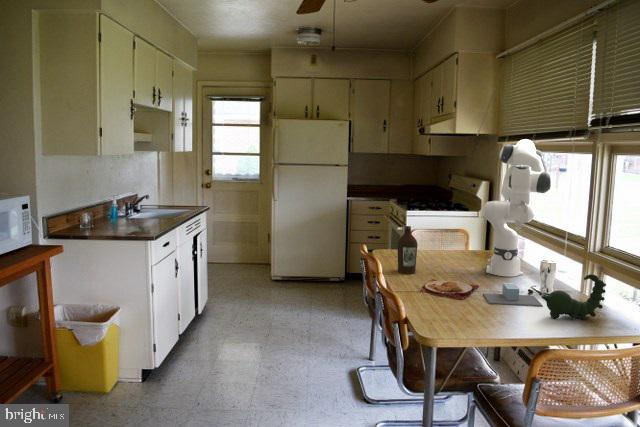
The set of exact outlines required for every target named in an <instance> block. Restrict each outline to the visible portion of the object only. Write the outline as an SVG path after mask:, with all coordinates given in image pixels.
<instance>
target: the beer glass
mask: <svg viewBox="0 0 640 427" xmlns="http://www.w3.org/2000/svg"><path fill="white" fill-rule="evenodd" d="M556 274H557V261H556V260H554V259H541V260H540V265H539V279H540V287H539V291H540V292H539V293H541V292H543V293H542V294H544V293H546V294H545V295H549V294H550V293H551V292H553V291H554V282H555V279H556Z"/></svg>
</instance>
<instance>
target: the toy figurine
mask: <svg viewBox="0 0 640 427" xmlns="http://www.w3.org/2000/svg"><path fill="white" fill-rule="evenodd" d="M589 279H590V280H591V281H592V282H594V283H593V284H594V286H592V289H591V291H592V292H590V294H589V297H588V298H587V299H586V301H578V300H577V299H575V298H573V297H572V296H571V295H570V294H569V293H567V292H566V291H564V290H558V289H557V290H553V292H551V293H550V294H547V295H542V296H540V298H541V299H542V300H544V301H545V303H546V307H547V309H548V310H549V315H550V317H551V319H555V320H556V319H559V318H560V317H561V315H565V316H568V317H569V318H570V319H572V320H575V319H577V318H580V319H581V320H583V321H585V320H587V315H589V316H590V317H591V318H595V317H596V316H597V314H596V312H595V310H596V309H603V308H604V306H603V305H602V304H601V303H600V302H601V301H602V302H603V301H605V299H606V298H605V297H604V296H603V295H602V294H606V293H607V292H606V289H604V287H607V283H605V281H604V280H602V279H599V277H598V275H596V274H594V273H589V274H587V275H585V276H584V277H583V280H584V281H586V280H589Z"/></svg>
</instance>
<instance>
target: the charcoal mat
mask: <svg viewBox="0 0 640 427" xmlns="http://www.w3.org/2000/svg"><path fill="white" fill-rule="evenodd" d="M483 296H484V298H485V300H486V301H487V303H488V304H489V305H504V306H505V305H506V306H525V307H541V308H542V307H544V306H543V303H541V302H540V301H539V300H538V298H537V297H536V296H535V295H526V294H519V300H507V299H506V298H505V297H504V295H503V294H502V293H486V292H484V293H483Z"/></svg>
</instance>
